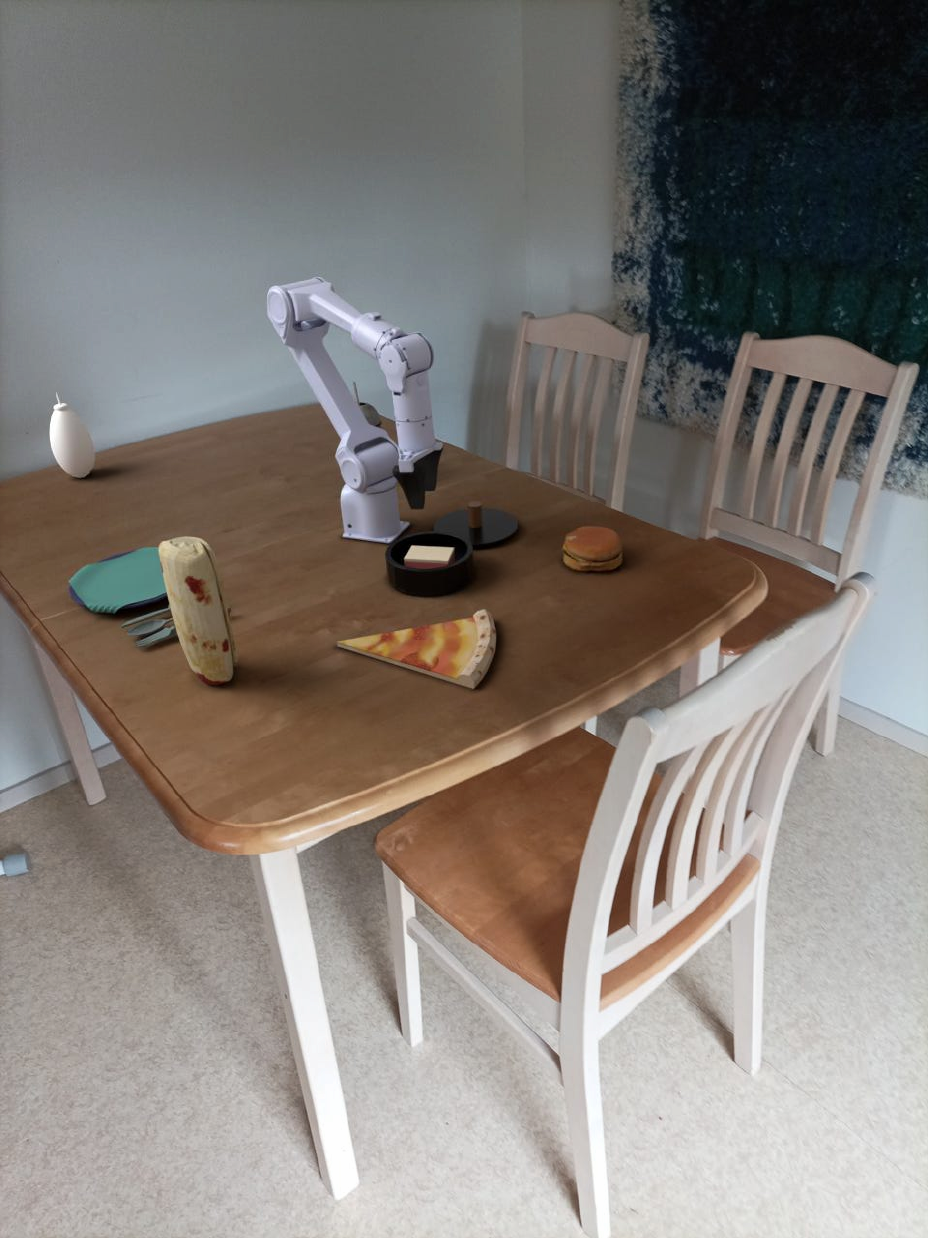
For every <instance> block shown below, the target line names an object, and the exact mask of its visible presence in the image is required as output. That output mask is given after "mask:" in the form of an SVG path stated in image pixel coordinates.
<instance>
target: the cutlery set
mask: <svg viewBox="0 0 928 1238" xmlns="http://www.w3.org/2000/svg"><path fill="white" fill-rule="evenodd" d="M158 548H159V546H156V547H155V546H151V547H149V546H145V547H142V548H139V549H136V550H130V551H126V552H122V553H118V554H114V555H111V556H109V557H107V558H104V559H101V560H99V561H97V562H93V563H90V564H86V565H84V566H83V567H82V568H80V569H79V571H77V572H76V573H75V574H74V575H73V576H72V577H71V578H69V580H68V581H67V582H68V583H69V587H68V592H69V595H70V598H71V600H73V601H74V602H75V603H77V604H78V605H79V606H82V607H86V608H88V610H90V611H91V612H93V613H99V614H100V613H102V614H104V613H108V614H115V613H116V612H117V611H118V610H126V609H132V608H133V609H134V608H138V607H142V606H146V605H149V604H153V603H156V602H159V601H161V600H164V599H166V598H168V595H167V591H166V587H165V582H164V577H163V572H162V568H161V563H160V557H159V551H158ZM228 608H229V613H230V614H231V613H232V608H231V606H229V605H228ZM169 612H170V613H171V614H172V611H171V607H170V604H168V605H167V608H164V609H159V610H157V611H152V612H150V613H147V614H144V615H142V616H139V617H136V618H133V619H130V620H128V621H126V622H124V623H122V624H121V626H120V627H121V629H125V628H127V627H129V626H132V625H135V624H136V625H135V626H132V627H131V628H130V629H129V630H127V632H126V634H127V636H129V637H144V636H148V635H150V636H148V637H145V638H144V639H141V640H138V641H135V642H134V644H135V647H137V648H138V649H139V648H143V647H147V646H149V645H151V644H154V643H157V642H162V641H166V640H168V639H170V638H173V637H174V636H175V635H178V634H177V631H176V627H175V625H171V626H170V627H164V626H165V625H167V624H169V623H171V622H174V620H173V616H172V617H170V618H169V619H164V618H163V619H162V618H161V619H160V618H159V619H154V618H156V617H158V616H160V615H164V614H167V613H169ZM152 618H153V619H152ZM150 619H151V620H150ZM147 620H148V621H147ZM141 622H142V623H141ZM138 623H139V624H138ZM163 627H164V628H163ZM162 628H163V629H162ZM161 629H162V630H161Z"/></svg>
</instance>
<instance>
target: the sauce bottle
mask: <svg viewBox="0 0 928 1238" xmlns="http://www.w3.org/2000/svg"><path fill="white" fill-rule="evenodd" d="M55 396H56V399H57V404H55V405H53V413H52V415H51V418H50V424H49V442H50V447H51V450H52V453H53V456H54V458H55V460H56V462H57V464H58V465H59V467H60V468H61V469H62V470H63V471H64V472H65V473H66V474H68V475H71V476H72V477H74V478H78V479H82V478H85V477H86V476H87V475H89V474H90V472H91V471H92V470H93V469H94V466H95V462H96V450H95V444H94V441H93V439H92V437H91V434H90V432H89V430H88V429H87V427H86V425H85V424H84V422H83V421H82V420H81V419H80V417H79V416H78V415H77V414H76V412H75V411H74V410H72V409H71V408H69V405H68V404H67V403H66V402H65V403H63V402H61V397H60V395H59V394H58V392H57V391H56V392H55ZM84 473H85V474H84ZM73 474H74V475H73Z"/></svg>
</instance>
